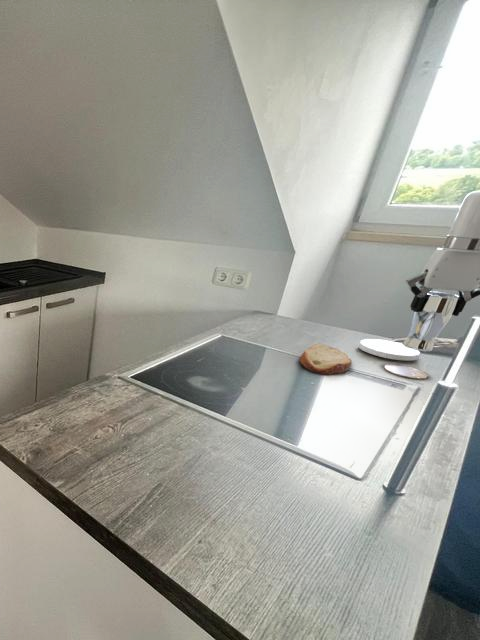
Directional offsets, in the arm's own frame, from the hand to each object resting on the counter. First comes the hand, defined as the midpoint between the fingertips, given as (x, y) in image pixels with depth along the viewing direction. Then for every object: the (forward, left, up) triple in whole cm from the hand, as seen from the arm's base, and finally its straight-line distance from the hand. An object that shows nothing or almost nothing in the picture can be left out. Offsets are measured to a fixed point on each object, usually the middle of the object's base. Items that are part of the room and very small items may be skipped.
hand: (433, 312), depth 104 cm
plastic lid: (0, -14, -18) cm, 23 cm away
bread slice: (+20, +1, -18) cm, 27 cm away
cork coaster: (0, 0, -18) cm, 18 cm away
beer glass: (0, 0, -10) cm, 10 cm away
